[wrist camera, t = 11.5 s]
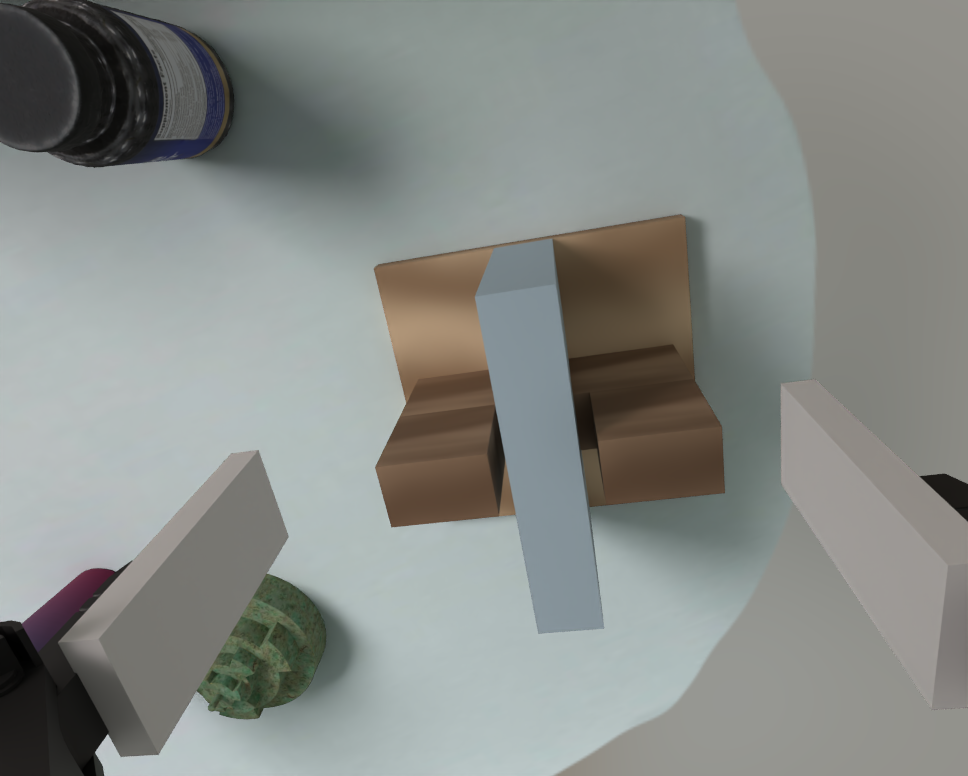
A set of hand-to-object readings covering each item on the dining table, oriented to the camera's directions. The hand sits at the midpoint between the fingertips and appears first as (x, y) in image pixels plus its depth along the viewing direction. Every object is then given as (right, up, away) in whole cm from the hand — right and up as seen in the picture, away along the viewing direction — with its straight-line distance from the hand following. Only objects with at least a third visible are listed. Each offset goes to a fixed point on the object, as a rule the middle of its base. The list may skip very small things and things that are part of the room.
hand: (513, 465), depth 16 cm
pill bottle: (-16, +17, +16) cm, 28 cm away
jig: (+3, +2, +20) cm, 21 cm away
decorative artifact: (-17, -15, +30) cm, 37 cm away
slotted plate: (+3, +2, +19) cm, 20 cm away
